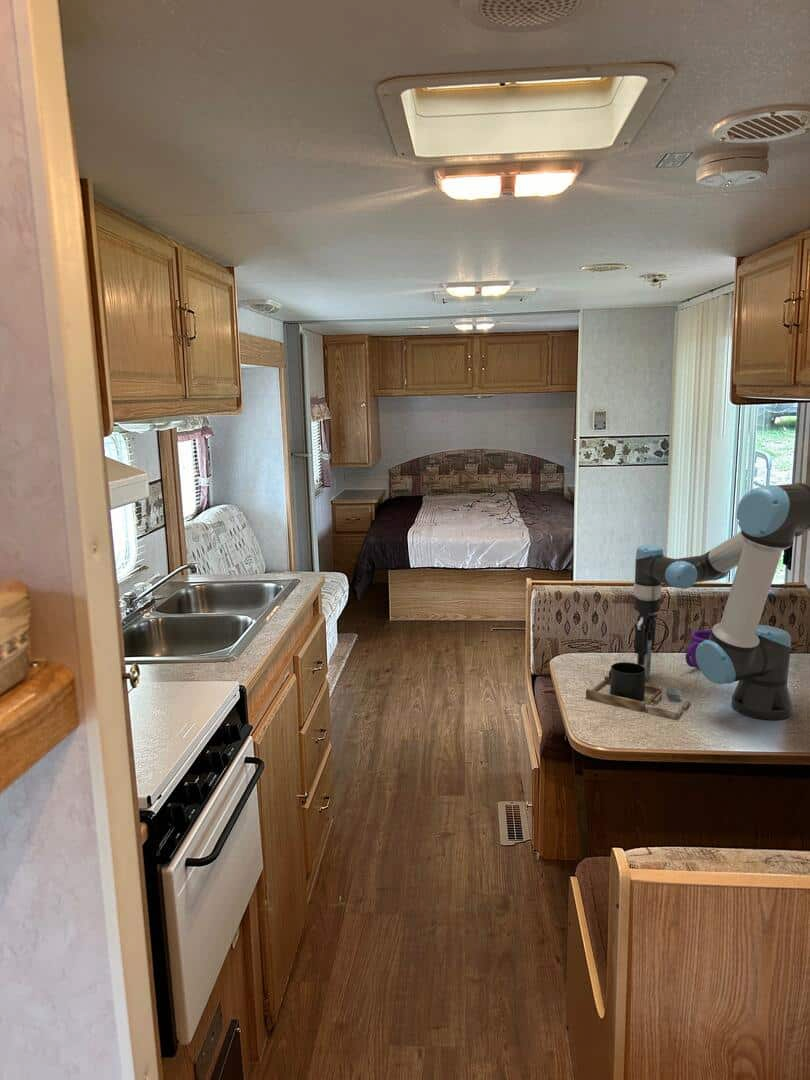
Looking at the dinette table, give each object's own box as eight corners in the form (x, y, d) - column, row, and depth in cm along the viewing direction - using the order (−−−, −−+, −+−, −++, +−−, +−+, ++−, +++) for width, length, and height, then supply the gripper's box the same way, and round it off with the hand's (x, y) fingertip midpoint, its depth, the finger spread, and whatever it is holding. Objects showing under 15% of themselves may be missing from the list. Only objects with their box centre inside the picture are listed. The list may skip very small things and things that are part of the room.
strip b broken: (694, 699, 218) (695, 692, 218) (677, 719, 205) (677, 712, 204) (664, 692, 223) (664, 686, 223) (644, 712, 210) (645, 705, 209)
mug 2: (702, 656, 252) (704, 627, 250) (734, 666, 243) (737, 636, 241) (669, 668, 242) (671, 637, 240) (702, 678, 233) (704, 647, 231)
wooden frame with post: (672, 682, 230) (674, 644, 228) (643, 712, 210) (645, 670, 208) (618, 671, 240) (620, 634, 237) (585, 698, 219) (587, 658, 217)
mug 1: (620, 686, 228) (621, 657, 226) (651, 700, 218) (653, 669, 216) (596, 692, 224) (597, 663, 222) (627, 707, 213) (628, 676, 212)
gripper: (643, 589, 237) (640, 662, 242) (625, 601, 225) (621, 678, 229) (668, 593, 233) (664, 667, 238) (650, 605, 220) (646, 683, 225)
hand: (643, 672), depth 233 cm, fingers closed on wooden frame with post, 3 cm apart
